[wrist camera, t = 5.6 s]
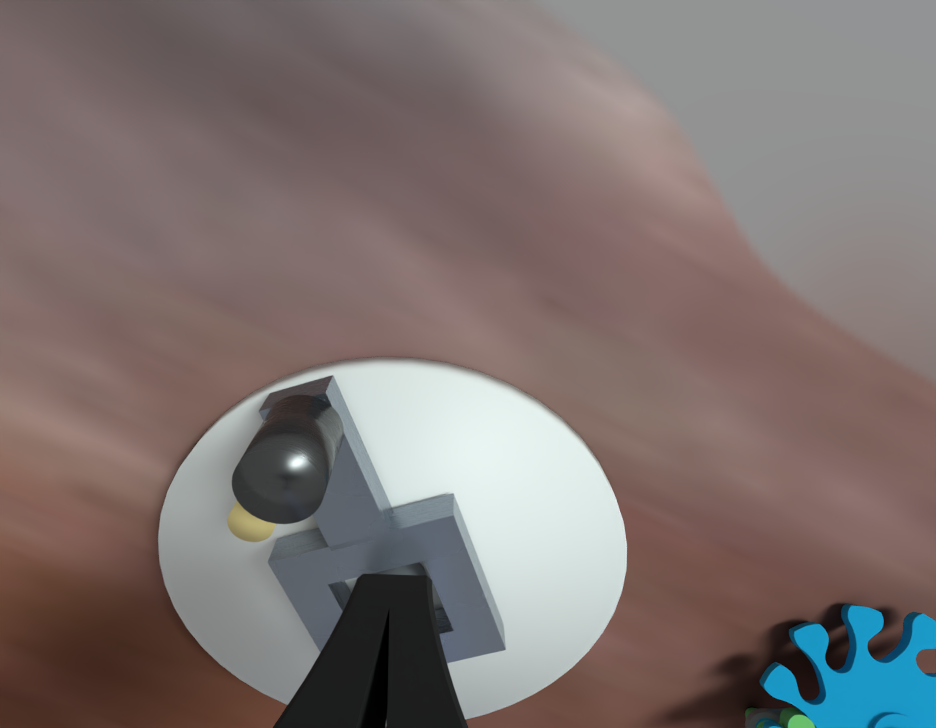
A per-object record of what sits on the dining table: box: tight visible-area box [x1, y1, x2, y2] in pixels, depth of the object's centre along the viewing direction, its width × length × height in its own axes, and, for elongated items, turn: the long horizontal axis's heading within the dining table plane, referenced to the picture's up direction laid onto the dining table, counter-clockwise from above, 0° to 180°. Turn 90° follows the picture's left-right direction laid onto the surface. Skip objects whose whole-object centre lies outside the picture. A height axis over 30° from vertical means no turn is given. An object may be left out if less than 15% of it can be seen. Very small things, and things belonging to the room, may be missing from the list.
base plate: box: [158, 357, 627, 724], centre depth 21 cm, size 18×18×5 cm
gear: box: [745, 604, 936, 728], centre depth 25 cm, size 11×6×10 cm
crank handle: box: [232, 375, 506, 663], centre depth 19 cm, size 13×7×4 cm, turn 17°
